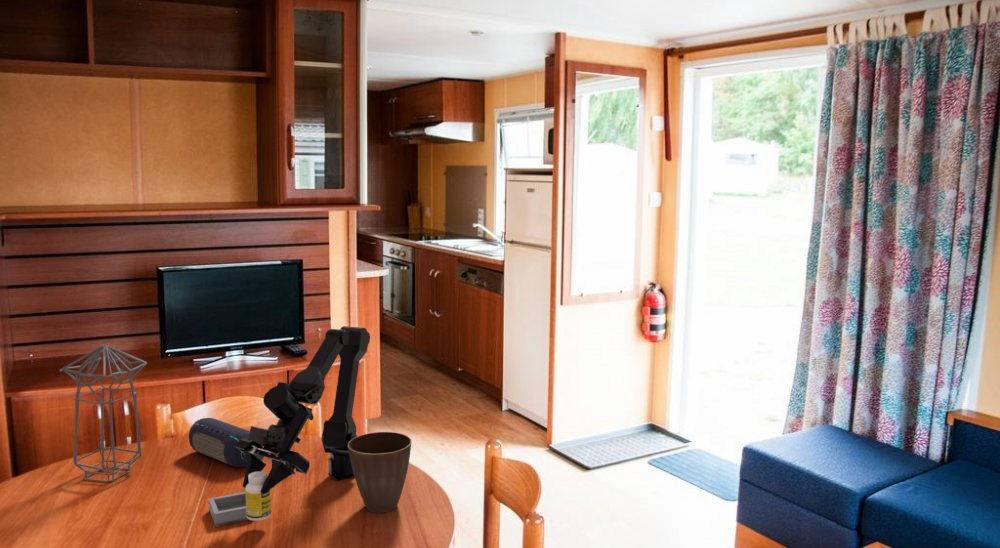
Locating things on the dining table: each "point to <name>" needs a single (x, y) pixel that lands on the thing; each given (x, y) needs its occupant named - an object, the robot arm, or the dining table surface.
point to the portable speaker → (218, 440)
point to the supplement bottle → (257, 497)
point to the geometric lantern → (95, 357)
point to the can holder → (228, 509)
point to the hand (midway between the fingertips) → (253, 490)
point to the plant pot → (380, 468)
